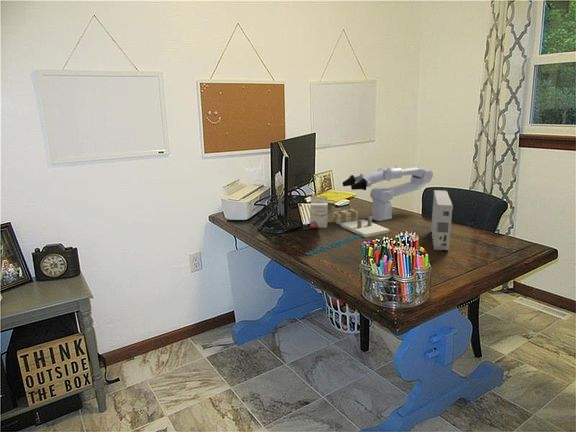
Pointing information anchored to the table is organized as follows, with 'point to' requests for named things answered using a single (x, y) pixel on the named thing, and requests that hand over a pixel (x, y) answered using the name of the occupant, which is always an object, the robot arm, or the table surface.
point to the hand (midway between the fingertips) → (347, 185)
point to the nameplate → (334, 244)
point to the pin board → (365, 228)
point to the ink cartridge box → (318, 212)
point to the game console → (441, 220)
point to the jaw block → (345, 216)
